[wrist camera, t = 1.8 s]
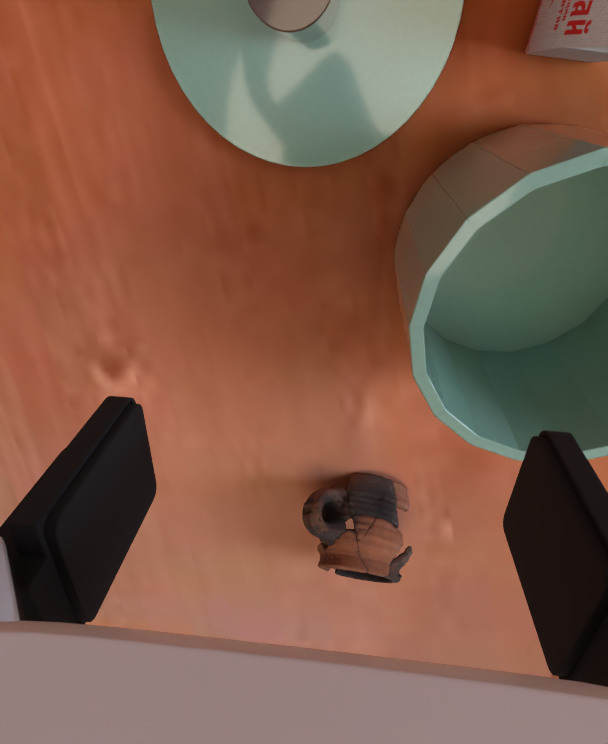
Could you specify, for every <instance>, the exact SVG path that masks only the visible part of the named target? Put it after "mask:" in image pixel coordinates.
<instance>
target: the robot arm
mask: <svg viewBox="0 0 608 744" xmlns="http://www.w3.org/2000/svg"><path fill="white" fill-rule="evenodd" d="M155 494H156V479H155V474H154V468H153V463H152V457H151V452H150V447H149V441H148V436H147V430H146V425H145V419H144V414H143V409H142V406H141V405H140V404H136V402H135V400H134V399H133V398H128V397H116V396H109V397H107V398H106V399H105V400H104V401H103V403H102V404H101V405H100V406H99V408H98V409H97V410H96V411H95V413H94V414H93V415H92V416H91V418H90V419H89V420H88V421H87V423H86V424H85V425H84V426H83V428H82V429H81V430H80V431H79V433H78V434H77V435H76V436H75V438H74V439H73V440H72V441H71V442H70V444H69V445H68V446H67V447H66V448H65V449H64V450H63V451H62V452H61V453H60V454H59V455H58V457H57V458H56V459H55V460H54V462H53V463H52V464H51V465H50V466H49V468H48V469H47V470H46V471H45V473H44V474H43V475H42V476H41V478H40V479H39V480H38V481H37V483H36V484H35V485H34V486H33V488H32V489H31V490H30V491H29V492H28V494H27V495H26V496H25V497H24V499H23V500H22V501H21V502H20V504H19V505H18V506H17V507H16V509H15V510H14V511H13V512H12V514H11V515H10V516H9V517H8V518H7V520H6V521H5V522H4V523H3V525H2V526H1V527H0V744H608V493H607V491H606V489H605V488H604V486H603V484H602V483H601V481H600V480H599V478H598V476H597V475H596V473H595V471H594V470H593V468H592V466H591V465H590V463H589V461H588V460H587V458H586V456H585V455H584V453H583V451H582V450H581V448H580V447H579V445H578V443H577V442H576V440H575V438H574V437H573V435H572V434H571V433H569V432H558V431H546V430H544V431H542V432H541V433H540V434H539V436H533V437H532V438H531V440H530V442H529V445H528V448H527V451H526V454H525V457H524V460H523V463H522V465H521V468H520V471H519V474H518V477H517V480H516V483H515V486H514V488H513V491H512V494H511V497H510V500H509V503H508V506H507V509H506V511H505V514H504V519H503V527H504V532H505V535H506V538H507V542H508V545H509V548H510V551H511V554H512V557H513V560H514V563H515V566H516V569H517V573H518V576H519V579H520V582H521V585H522V588H523V591H524V594H525V597H526V600H527V603H528V607H529V610H530V613H531V616H532V619H533V622H534V625H535V628H536V631H537V634H538V637H539V641H540V644H541V647H542V650H543V653H544V656H545V659H546V662H547V665H548V668H549V670H550V672H551V673H552V674H553V675H556V676H559V679H555V678H548V677H541V676H533V675H526V674H519V673H512V672H504V671H496V670H488V669H480V668H471V667H463V666H455V665H446V664H438V663H430V662H421V661H413V660H405V659H396V658H388V657H379V656H371V655H362V654H353V653H345V652H336V651H327V650H319V649H310V648H301V647H292V646H284V645H275V644H266V643H257V642H248V641H240V640H230V639H221V638H212V637H203V636H194V635H184V634H175V633H166V632H157V631H148V630H139V629H129V628H118V627H107V626H96V625H85V623H86V622H91V621H92V620H93V619H94V618H95V616H96V615H97V613H98V611H99V609H100V607H101V605H102V603H103V601H104V599H105V597H106V595H107V593H108V591H109V589H110V586H111V584H112V582H113V580H114V578H115V576H116V574H117V572H118V570H119V568H120V566H121V564H122V562H123V560H124V558H125V556H126V554H127V552H128V550H129V548H130V546H131V544H132V542H133V540H134V538H135V536H136V534H137V532H138V530H139V528H140V526H141V524H142V522H143V520H144V518H145V516H146V514H147V512H148V510H149V508H150V506H151V504H152V502H153V499H154V497H155Z"/></svg>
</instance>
